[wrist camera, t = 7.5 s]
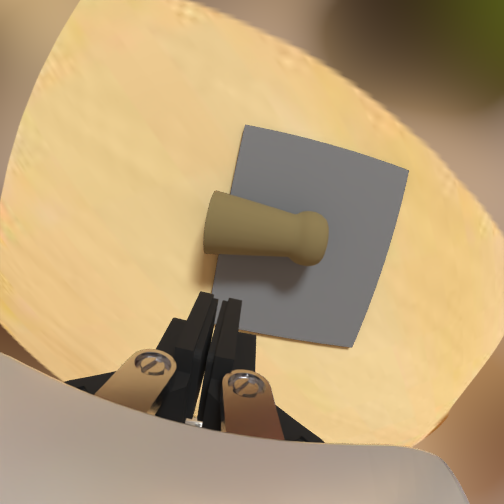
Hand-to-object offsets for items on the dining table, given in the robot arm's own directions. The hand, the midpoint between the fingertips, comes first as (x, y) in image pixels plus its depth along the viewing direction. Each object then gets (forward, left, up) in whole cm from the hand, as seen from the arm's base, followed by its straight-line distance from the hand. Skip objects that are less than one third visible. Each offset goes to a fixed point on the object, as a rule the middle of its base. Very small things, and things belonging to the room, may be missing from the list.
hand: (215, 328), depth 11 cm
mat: (-1, -7, -20) cm, 21 cm away
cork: (0, +3, -17) cm, 18 cm away
